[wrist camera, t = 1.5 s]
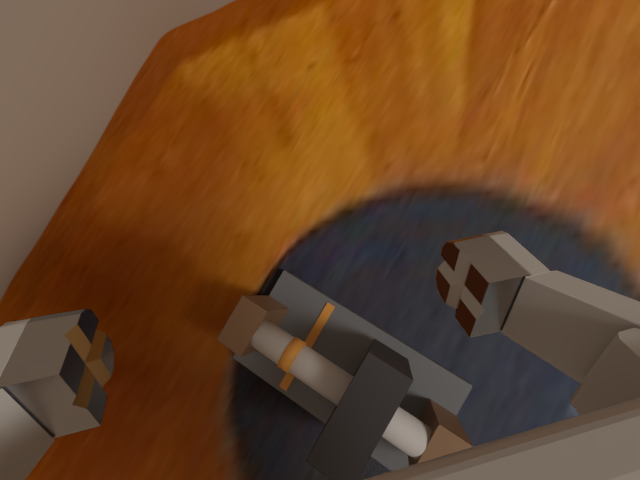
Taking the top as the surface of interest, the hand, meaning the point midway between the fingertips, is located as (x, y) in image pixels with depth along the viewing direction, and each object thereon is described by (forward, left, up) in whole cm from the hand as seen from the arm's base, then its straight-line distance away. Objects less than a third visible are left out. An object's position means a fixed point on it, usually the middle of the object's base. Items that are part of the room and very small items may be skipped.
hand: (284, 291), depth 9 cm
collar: (-5, +9, -32) cm, 34 cm away
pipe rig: (-2, +9, -35) cm, 36 cm away
